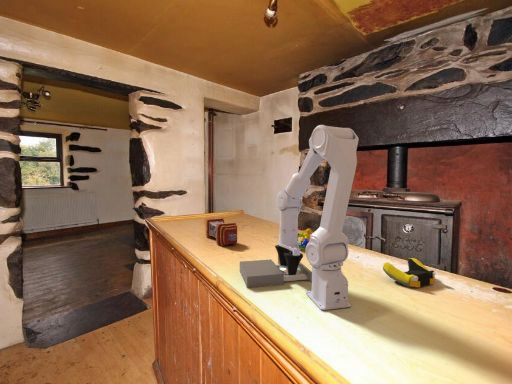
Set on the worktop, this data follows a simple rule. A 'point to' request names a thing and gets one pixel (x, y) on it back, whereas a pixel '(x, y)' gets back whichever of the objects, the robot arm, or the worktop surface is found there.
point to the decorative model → (304, 238)
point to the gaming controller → (411, 274)
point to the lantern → (221, 231)
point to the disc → (284, 269)
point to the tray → (299, 274)
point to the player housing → (261, 273)
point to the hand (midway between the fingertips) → (287, 270)
